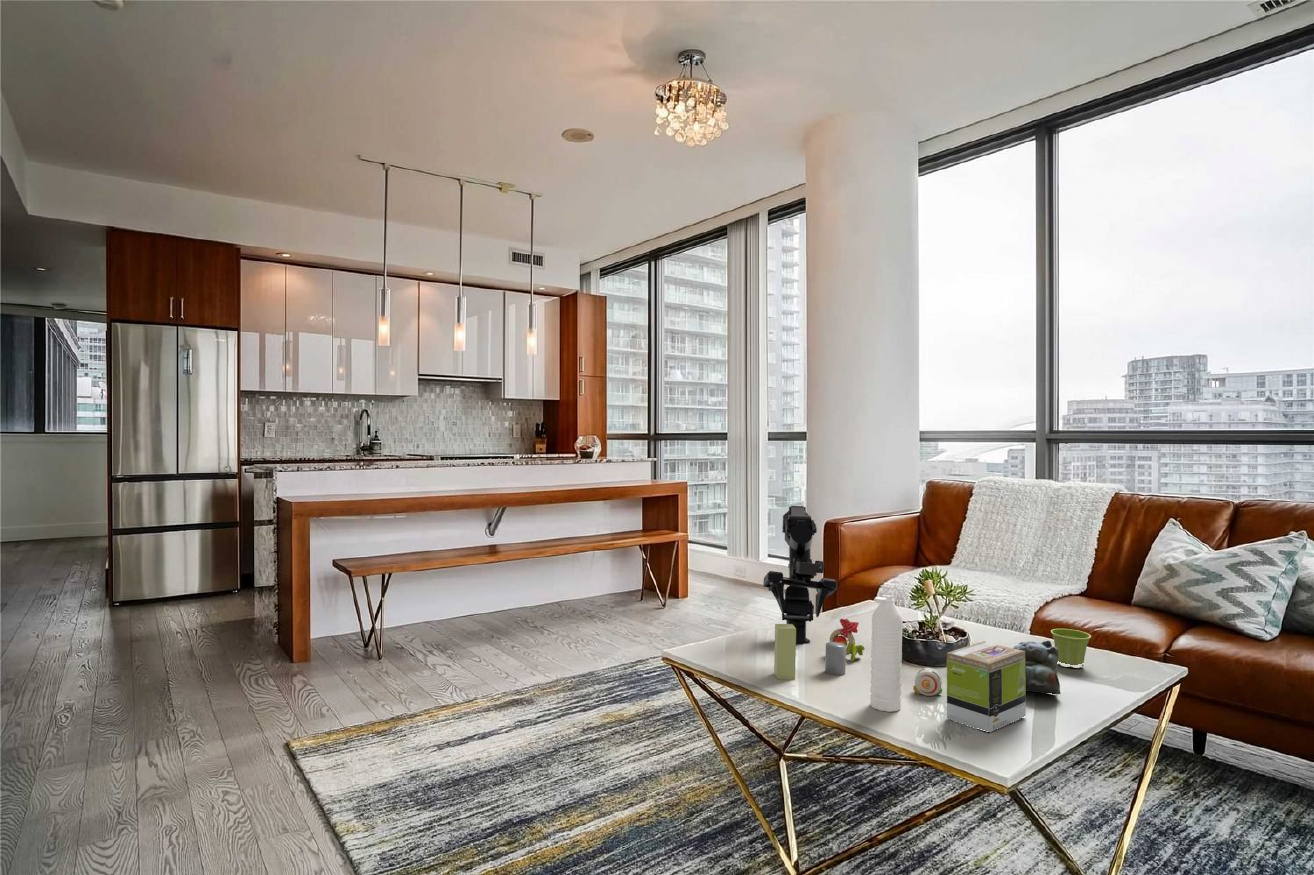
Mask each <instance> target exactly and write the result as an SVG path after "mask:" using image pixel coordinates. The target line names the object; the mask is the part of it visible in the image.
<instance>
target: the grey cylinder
mask: <svg viewBox="0 0 1314 875" xmlns="http://www.w3.org/2000/svg"><path fill="white" fill-rule="evenodd" d="M846 648H847V647H846V645H845V644H842V643H837V642H826V643H825V657H824V658H825V659H824V661H825V662H824V663H825V664H824V665H825V668H824V669H825V671H824V672H825V673H826V674H827V675H831V676H838V677H839V676H845V675H846V665H847V664H846V660H847V659H846V657H847V655H846Z"/></svg>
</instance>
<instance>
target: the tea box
mask: <svg viewBox="0 0 1314 875" xmlns="http://www.w3.org/2000/svg"><path fill="white" fill-rule="evenodd" d="M1026 693H1027V692H1026V677H1025V651H1022V650H1018V649H1014V648H1013V647H1009V646H1005V645H1001V644H1000V645H999V644H995V643H991V642H987V641H981V642H977V643H974V644H971V645H968V646H964V647H961V648H958V649H954V650H952V651H949V652H946V719H947V720H948V719H950V720H949V721H951V720H953V721H952V722H954V721H957V722H960V723H963V724H965V725H964V726H966V725H968V726H971V727H974V728H979V729H982V730H985V731H988V732H990V733H992V732H991V731H993V730H995V729H997V728H999V729H1001V727H1002V728H1004V727H1006V726H1008V725H1010V724H1009V723H1011V722H1013V721H1015V722H1017V721H1016V720H1018V719H1020V718H1022V717H1024V716H1026V714H1027V711H1026V710H1027V709H1026V708H1027V706H1026V705H1027V701H1026V700H1027V698H1026V696H1027V695H1026ZM1026 717H1027V716H1026ZM1022 719H1023V718H1022ZM1020 720H1021V719H1020ZM1018 721H1019V720H1018ZM957 722H956V723H957ZM960 723H959V724H960ZM1013 723H1014V722H1013ZM963 724H962V725H963ZM1007 724H1008V725H1007ZM1011 724H1012V723H1011ZM1005 725H1006V726H1005ZM968 726H967V727H968ZM1003 726H1004V727H1003ZM971 727H970V728H971ZM974 728H973V729H974ZM997 730H998V729H997ZM995 731H996V730H995ZM993 732H994V731H993Z"/></svg>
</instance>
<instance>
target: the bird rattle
mask: <svg viewBox="0 0 1314 875" xmlns="http://www.w3.org/2000/svg"><path fill="white" fill-rule="evenodd" d="M839 623H840V625H841V627H842V628H837V629H835V630H834V631H833V632H831V634H830V637H829V642H837V643H842V644H845V645H846V656H849V655H850V660H851V662H853V661H854V660H855V659H856V656H857V654H858V655H859V656H863V655H864V653H863V651H864V650H865V647H864V645H862V644H858V645H856V641H855V636H854V635H853V633H854V634H855V633H856V634H857V633H858V632H859V630H858V629H857V628H858V627H859V624H860V622H857V621H856V622H855V621H853V622H852V621H850V620H849V619H848V618H840V619H839ZM829 642H828V643H829Z"/></svg>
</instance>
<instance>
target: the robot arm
mask: <svg viewBox="0 0 1314 875" xmlns="http://www.w3.org/2000/svg"><path fill="white" fill-rule="evenodd" d="M806 509H807V508H806V506H803V505H790V506H788V511H786V513H784V514H783V515H782V526H781V527H782V533H784V541H785V543H787V545H788V546H789V548H788V555H789V556H788V557H789V558H788V559H789V563H788V565H787V566H788V567H787V568H788V574H789V576H788V577H785V576H784V573H783V572H781V571H773V570H769V571H768V572H767V574H766V575H764V578H763V583H762V584H763V585H762V586H763V587H764V588H767V589H768V591H769V592H771V593H772V595H773V597H774V598H775V600H776V602H777V605H778V607H779V609H780V612H781V621H785V624H793V625H794V627H795V628H796V644H800V643H801V644H803V643H804V644H805V643H806V644H807V643H811V640H810V639H808V637H807V622H812V621H814V609H815V617H816V618H819V617H820V614H821V611H822V607H823V605H824V602H825V600H826V598H828V597H829V596H832V595H833V594H834V593H835V592H836V591H837V590H838V582H837V581H836V579H835V578H827V577H826V578H825V577H822V578H820V580H819V581H816V580H813V579H814V578H815V577H817V575H818V574H824V571H825V570H824V569H825V562H824V561H823V560H815V562H814V563H813V561H812V559H811V547H812V542H813V536H815V534H817V524H816V523H815V520H814V519H812V516H811V515H809V513H807V510H806ZM785 585H787V587H786V588H785V591H784V587H785ZM809 589H816V592H817V593H816V594H815V605H814V604H813V601H812V600H810V592H809Z"/></svg>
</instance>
